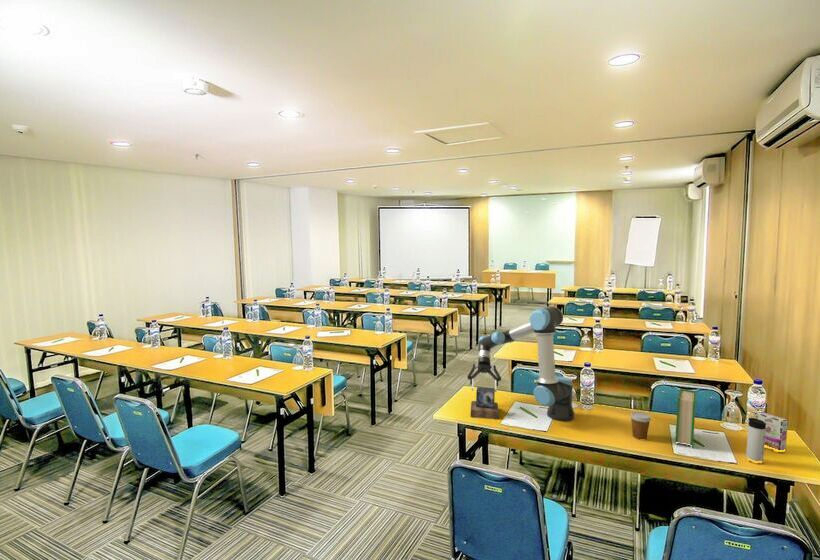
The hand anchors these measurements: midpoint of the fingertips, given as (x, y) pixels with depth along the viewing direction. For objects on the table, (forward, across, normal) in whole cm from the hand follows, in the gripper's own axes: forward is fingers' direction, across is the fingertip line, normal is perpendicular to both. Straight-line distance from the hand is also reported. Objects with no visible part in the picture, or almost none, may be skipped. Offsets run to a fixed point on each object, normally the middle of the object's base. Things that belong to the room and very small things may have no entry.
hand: (484, 390), depth 255 cm
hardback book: (+24, -102, +4) cm, 105 cm away
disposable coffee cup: (+24, -80, +5) cm, 84 cm away
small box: (+8, -1, -5) cm, 10 cm away
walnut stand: (+11, 0, -8) cm, 13 cm away
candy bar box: (+25, -140, +6) cm, 143 cm away
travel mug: (+36, -124, +17) cm, 130 cm away
